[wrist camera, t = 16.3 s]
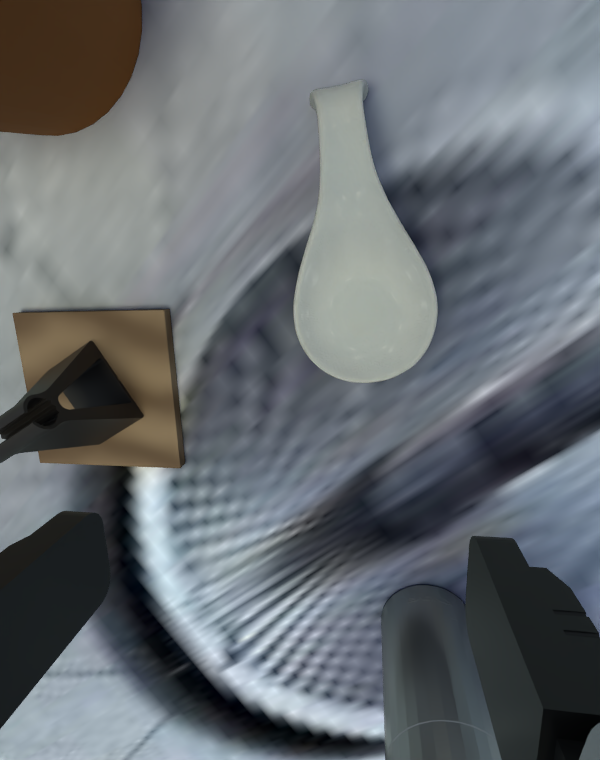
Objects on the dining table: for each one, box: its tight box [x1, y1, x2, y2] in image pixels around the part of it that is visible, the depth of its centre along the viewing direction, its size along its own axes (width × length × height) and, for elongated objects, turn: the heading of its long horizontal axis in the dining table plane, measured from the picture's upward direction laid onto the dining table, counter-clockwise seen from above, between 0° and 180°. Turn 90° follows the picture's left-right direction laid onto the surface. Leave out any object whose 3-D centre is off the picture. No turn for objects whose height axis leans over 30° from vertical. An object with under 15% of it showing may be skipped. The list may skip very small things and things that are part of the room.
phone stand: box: [0, 341, 144, 463], centre depth 38 cm, size 9×6×12 cm, turn 32°
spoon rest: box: [294, 79, 438, 383], centre depth 35 cm, size 24×12×7 cm, turn 10°
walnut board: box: [13, 309, 185, 468], centre depth 45 cm, size 16×16×1 cm
